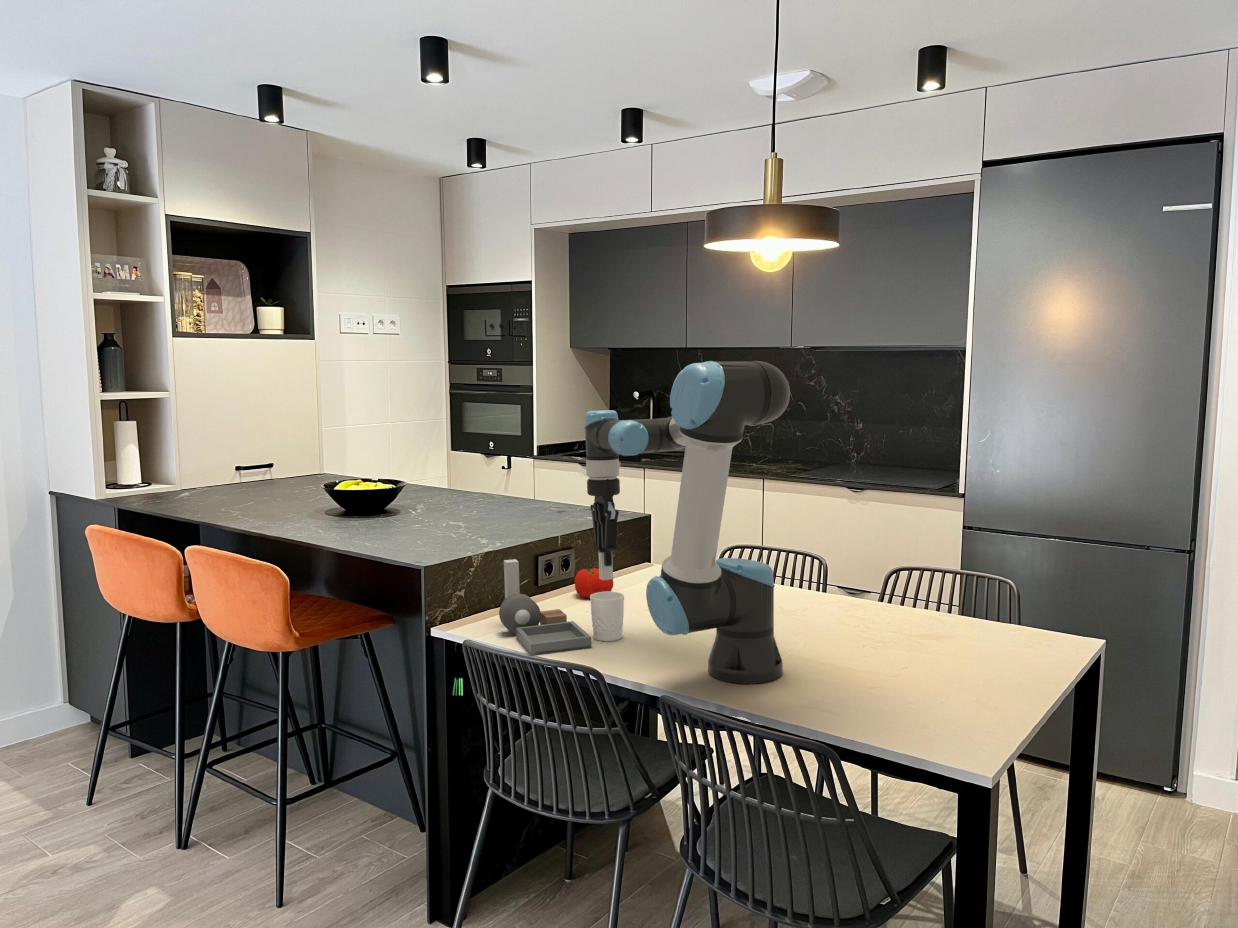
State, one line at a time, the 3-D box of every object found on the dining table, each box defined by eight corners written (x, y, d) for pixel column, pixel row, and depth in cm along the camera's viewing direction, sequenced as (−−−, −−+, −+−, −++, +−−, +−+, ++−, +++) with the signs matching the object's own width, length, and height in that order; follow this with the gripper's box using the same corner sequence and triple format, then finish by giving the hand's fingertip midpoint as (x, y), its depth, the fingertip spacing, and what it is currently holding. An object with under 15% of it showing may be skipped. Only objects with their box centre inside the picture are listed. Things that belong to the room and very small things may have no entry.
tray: (591, 647, 204) (591, 636, 204) (531, 655, 199) (530, 644, 199) (573, 631, 217) (573, 620, 217) (516, 638, 212) (515, 627, 212)
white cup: (626, 632, 215) (625, 591, 214) (623, 642, 207) (622, 599, 206) (593, 632, 216) (592, 591, 215) (589, 642, 208) (587, 599, 207)
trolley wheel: (541, 633, 216) (539, 567, 214) (504, 637, 213) (502, 571, 211) (529, 620, 227) (527, 558, 225) (494, 625, 224) (491, 561, 222)
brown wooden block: (567, 631, 218) (566, 614, 217) (547, 633, 216) (546, 617, 216) (559, 624, 223) (559, 608, 223) (540, 627, 222) (539, 611, 221)
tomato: (620, 594, 252) (619, 567, 251) (598, 603, 243) (598, 575, 242) (588, 589, 258) (588, 563, 257) (566, 598, 248) (565, 571, 248)
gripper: (628, 479, 203) (631, 582, 205) (608, 474, 216) (611, 571, 218) (597, 481, 200) (600, 586, 203) (578, 476, 213) (581, 574, 215)
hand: (606, 578), depth 210 cm, fingers closed
